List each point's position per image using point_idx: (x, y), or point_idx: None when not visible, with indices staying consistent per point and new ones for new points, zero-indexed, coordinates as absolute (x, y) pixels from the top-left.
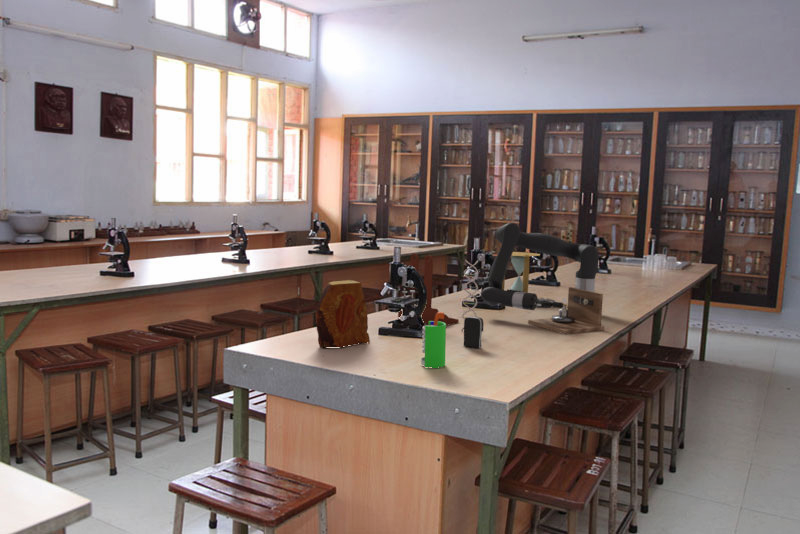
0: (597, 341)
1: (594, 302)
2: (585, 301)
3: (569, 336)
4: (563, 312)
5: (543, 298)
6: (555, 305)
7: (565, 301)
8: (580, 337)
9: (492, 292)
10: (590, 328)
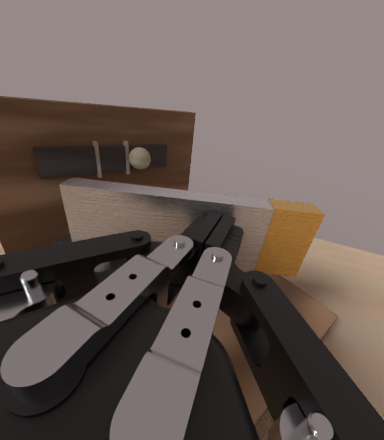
0: (351, 252)
1: (170, 151)
2: (149, 157)
3: (359, 311)
4: (300, 256)
5: (85, 316)
6: (235, 259)
7: (195, 193)
8: (338, 280)
9: None
10: None
